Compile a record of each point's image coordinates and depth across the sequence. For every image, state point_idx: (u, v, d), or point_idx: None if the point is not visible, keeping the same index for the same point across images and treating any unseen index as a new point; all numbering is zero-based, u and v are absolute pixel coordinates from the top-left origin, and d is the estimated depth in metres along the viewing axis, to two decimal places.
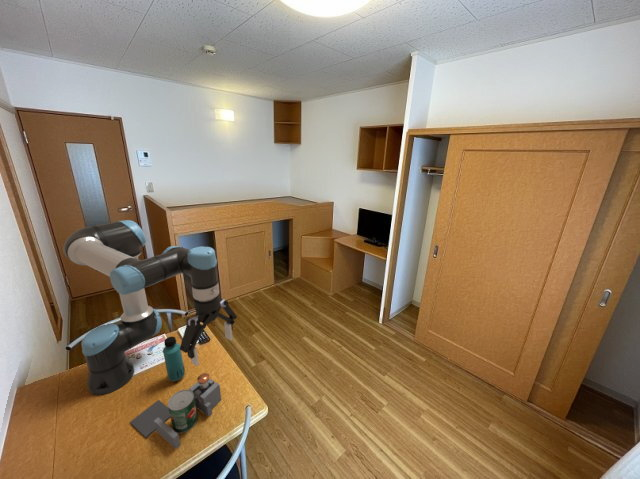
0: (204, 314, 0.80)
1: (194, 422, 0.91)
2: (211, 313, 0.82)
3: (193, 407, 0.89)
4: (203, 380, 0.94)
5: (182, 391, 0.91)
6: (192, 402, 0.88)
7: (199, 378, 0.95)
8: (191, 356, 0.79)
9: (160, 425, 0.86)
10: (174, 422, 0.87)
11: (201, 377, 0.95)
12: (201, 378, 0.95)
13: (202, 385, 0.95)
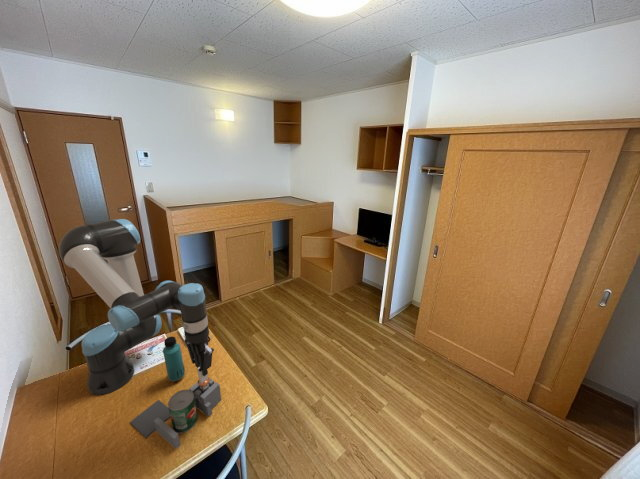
0: None
1: (194, 422, 0.91)
2: (195, 344, 0.89)
3: (193, 407, 0.89)
4: (203, 383, 0.95)
5: (182, 391, 0.91)
6: (192, 402, 0.88)
7: None
8: (198, 370, 0.94)
9: (160, 425, 0.86)
10: (174, 422, 0.87)
11: None
12: None
13: (202, 388, 0.95)
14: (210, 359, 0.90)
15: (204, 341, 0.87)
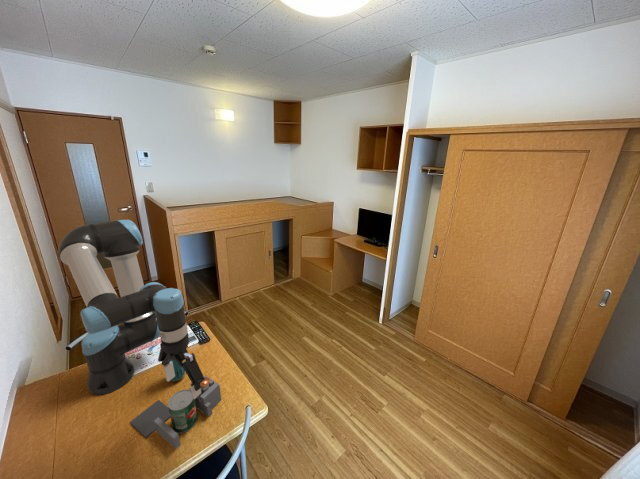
0: None
1: (194, 422, 0.91)
2: (174, 353, 0.82)
3: (193, 407, 0.89)
4: (204, 384, 0.95)
5: (182, 391, 0.91)
6: (192, 402, 0.88)
7: None
8: None
9: (160, 425, 0.86)
10: (174, 422, 0.87)
11: (202, 381, 0.96)
12: (202, 382, 0.95)
13: (203, 389, 0.95)
14: (197, 368, 0.81)
15: None
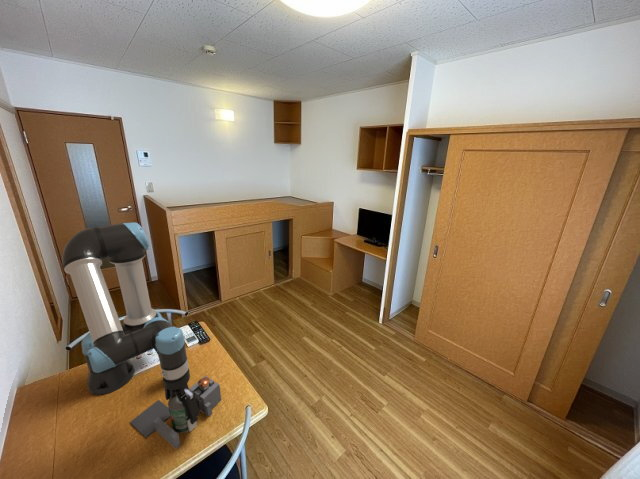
0: None
1: None
2: (175, 388, 0.85)
3: None
4: (204, 384, 0.95)
5: None
6: None
7: (200, 382, 0.95)
8: None
9: (160, 425, 0.86)
10: (174, 422, 0.87)
11: (202, 381, 0.96)
12: (202, 382, 0.95)
13: (203, 389, 0.95)
14: (195, 405, 0.85)
15: None
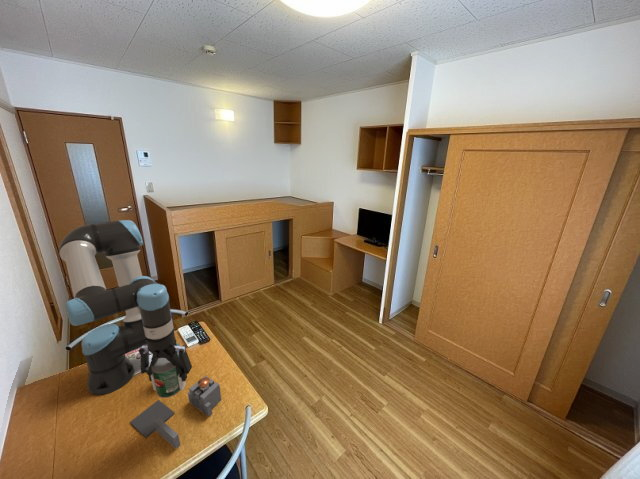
0: None
1: None
2: (161, 350, 0.81)
3: None
4: (204, 384, 0.95)
5: None
6: None
7: (200, 382, 0.95)
8: (150, 379, 0.85)
9: (160, 425, 0.86)
10: (165, 386, 0.82)
11: (202, 381, 0.96)
12: (202, 382, 0.95)
13: (203, 389, 0.95)
14: (187, 358, 0.84)
15: None
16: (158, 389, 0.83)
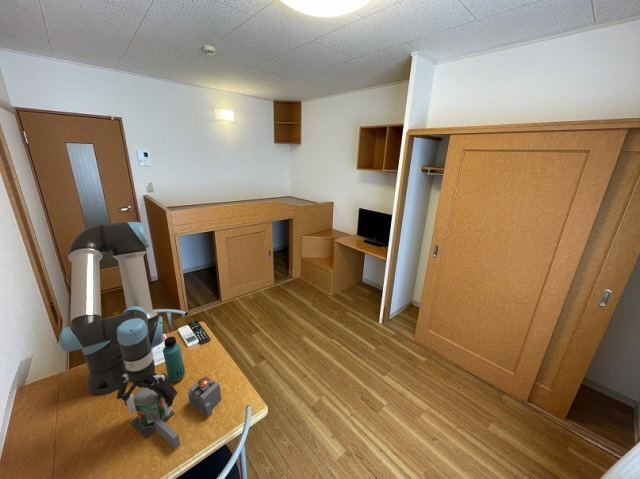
0: None
1: (164, 411, 0.93)
2: (141, 380, 0.85)
3: (161, 397, 0.92)
4: (204, 384, 0.95)
5: (143, 389, 0.91)
6: None
7: (200, 382, 0.95)
8: (126, 404, 0.89)
9: (160, 425, 0.86)
10: (146, 417, 0.87)
11: (202, 381, 0.96)
12: (202, 382, 0.95)
13: (203, 389, 0.95)
14: (170, 385, 0.88)
15: None
16: (140, 420, 0.88)
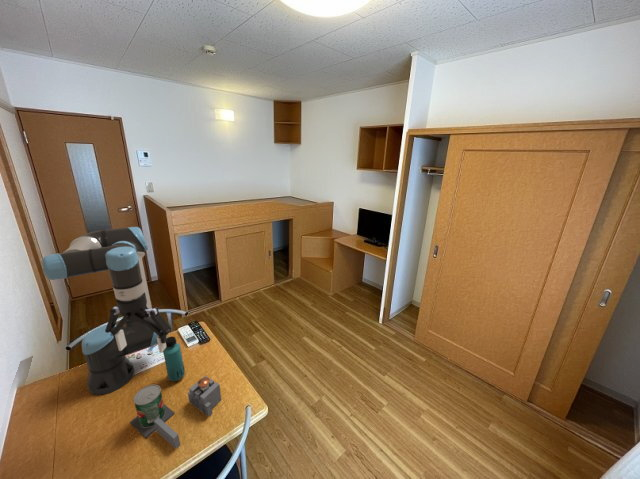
0: None
1: (164, 411, 0.93)
2: (132, 314, 0.82)
3: None
4: (204, 384, 0.95)
5: (144, 388, 0.91)
6: (160, 392, 0.91)
7: (200, 382, 0.95)
8: (115, 339, 0.86)
9: (160, 425, 0.86)
10: (146, 417, 0.87)
11: (202, 381, 0.96)
12: (202, 382, 0.95)
13: (203, 389, 0.95)
14: (163, 320, 0.85)
15: None
16: (140, 420, 0.88)
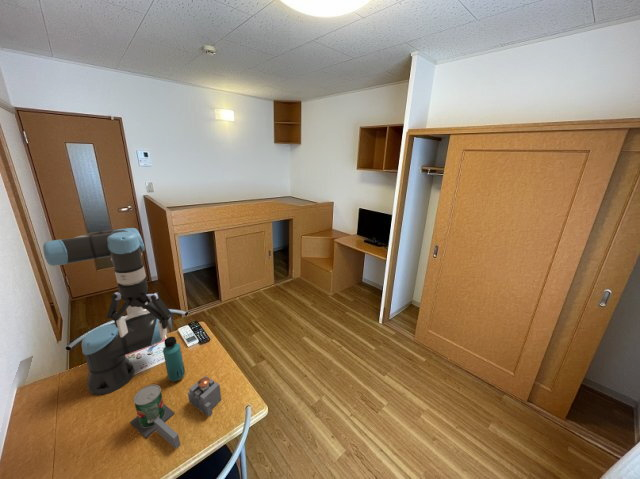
0: (125, 295, 0.83)
1: (164, 411, 0.93)
2: (134, 299, 0.83)
3: None
4: (204, 384, 0.95)
5: (144, 388, 0.91)
6: (160, 392, 0.91)
7: (200, 382, 0.95)
8: (116, 325, 0.87)
9: (160, 425, 0.86)
10: (146, 417, 0.87)
11: (202, 381, 0.96)
12: (202, 382, 0.95)
13: (203, 389, 0.95)
14: (164, 305, 0.86)
15: None
16: (140, 420, 0.88)
